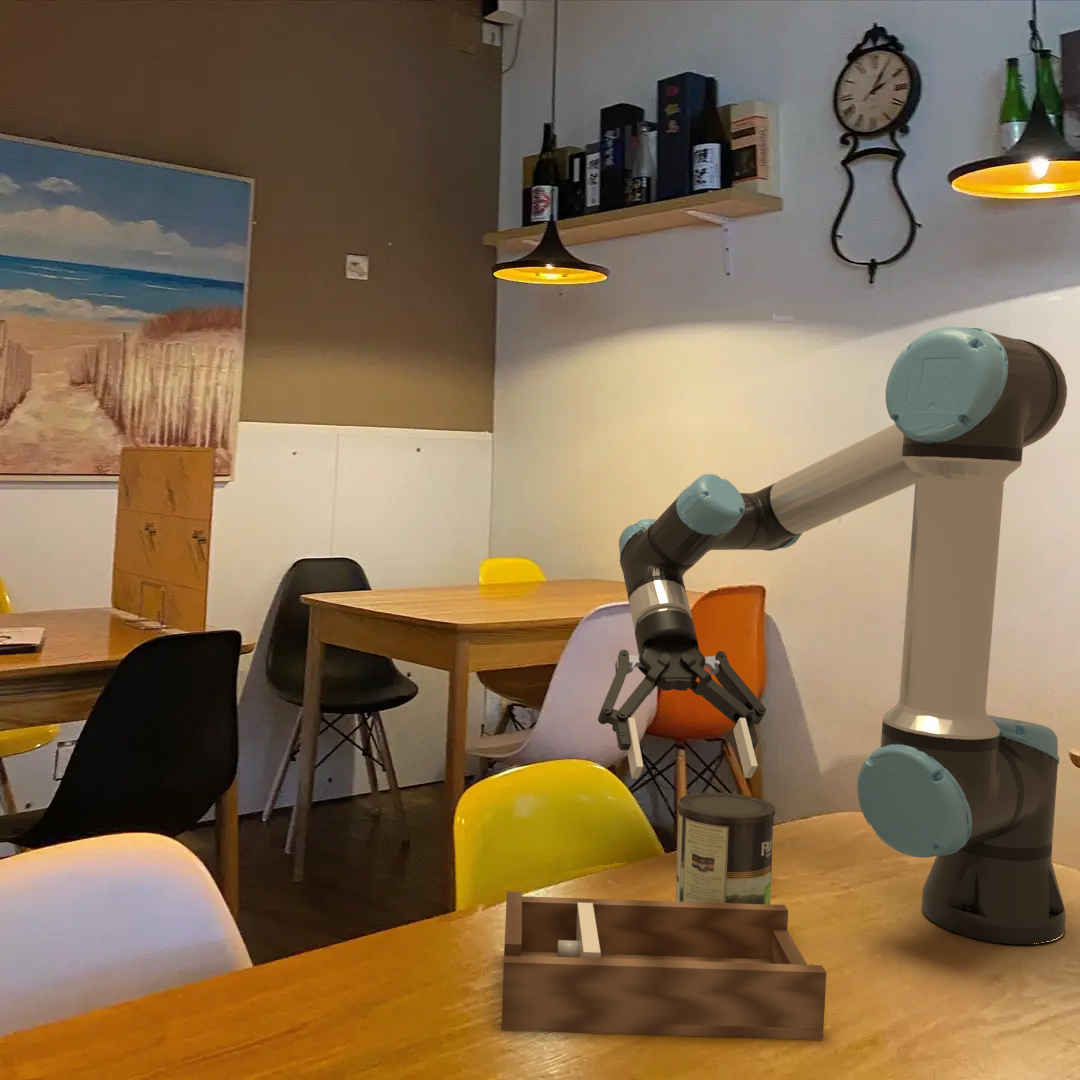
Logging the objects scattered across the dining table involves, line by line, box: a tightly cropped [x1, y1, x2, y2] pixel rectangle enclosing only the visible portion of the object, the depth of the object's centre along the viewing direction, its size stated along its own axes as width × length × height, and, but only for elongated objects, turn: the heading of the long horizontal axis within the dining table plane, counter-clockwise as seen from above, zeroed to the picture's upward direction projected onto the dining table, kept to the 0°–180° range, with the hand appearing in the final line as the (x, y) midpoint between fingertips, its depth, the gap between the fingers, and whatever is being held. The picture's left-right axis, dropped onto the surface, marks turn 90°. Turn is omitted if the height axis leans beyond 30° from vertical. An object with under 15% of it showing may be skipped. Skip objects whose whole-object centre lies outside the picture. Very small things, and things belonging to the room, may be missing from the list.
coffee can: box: [674, 792, 776, 905], centre depth 122 cm, size 10×10×14 cm
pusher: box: [557, 903, 601, 958], centre depth 107 cm, size 4×12×5 cm, turn 1°
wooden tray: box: [500, 891, 827, 1041], centre depth 107 cm, size 28×16×7 cm, turn 91°
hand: (695, 772), depth 131 cm, fingers open, 13 cm apart
